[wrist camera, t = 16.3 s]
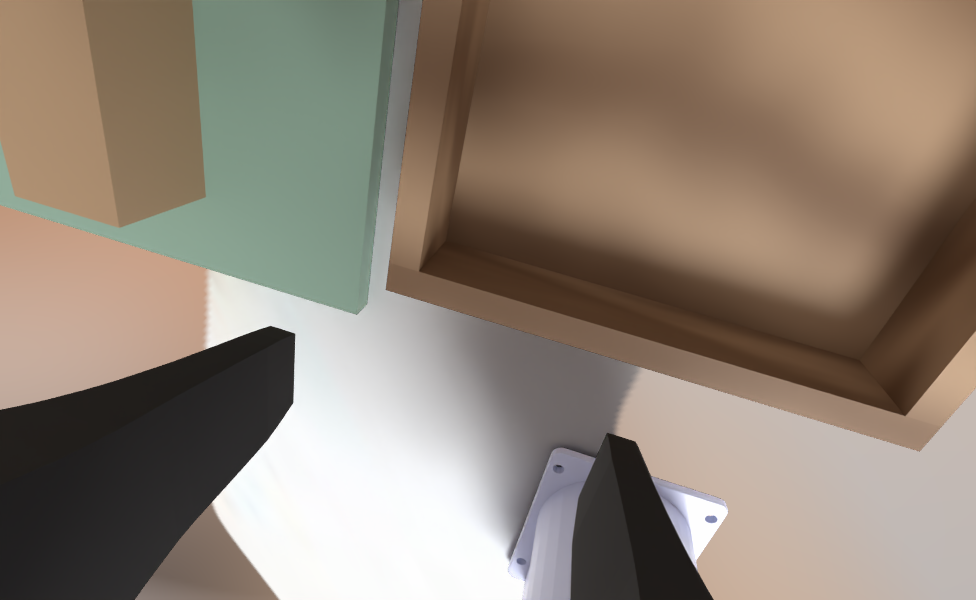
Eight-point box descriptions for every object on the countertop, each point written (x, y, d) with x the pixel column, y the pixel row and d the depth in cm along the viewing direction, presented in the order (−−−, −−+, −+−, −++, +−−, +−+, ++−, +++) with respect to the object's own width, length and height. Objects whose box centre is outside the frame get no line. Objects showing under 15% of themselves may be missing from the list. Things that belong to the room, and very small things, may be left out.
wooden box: (987, 412, 18) (1238, 649, 11) (425, 248, 20) (322, 356, 13) (1370, -1, 12) (2565, -88, 5) (495, -180, 14) (371, -434, 6)
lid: (371, 300, 22) (305, 367, 17) (28, 196, 24) (-117, 231, 19) (411, -71, 15) (323, -125, 11) (-65, -178, 17) (-322, -266, 12)
